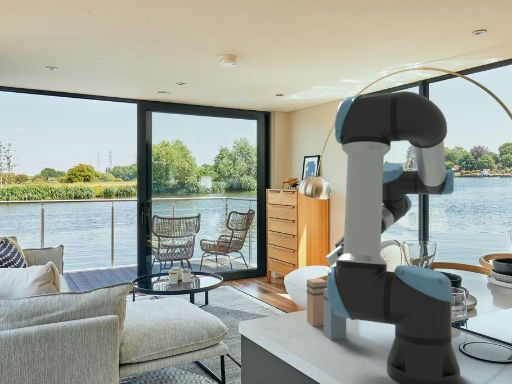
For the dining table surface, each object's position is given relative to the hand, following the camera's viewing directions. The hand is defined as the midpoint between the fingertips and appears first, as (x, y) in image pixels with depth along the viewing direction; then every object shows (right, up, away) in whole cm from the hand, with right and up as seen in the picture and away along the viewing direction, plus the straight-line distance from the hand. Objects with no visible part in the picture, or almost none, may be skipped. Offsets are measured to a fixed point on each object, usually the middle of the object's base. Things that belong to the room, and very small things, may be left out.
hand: (328, 261), depth 127 cm
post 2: (+1, -20, -7) cm, 21 cm away
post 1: (-3, -20, +5) cm, 20 cm away
